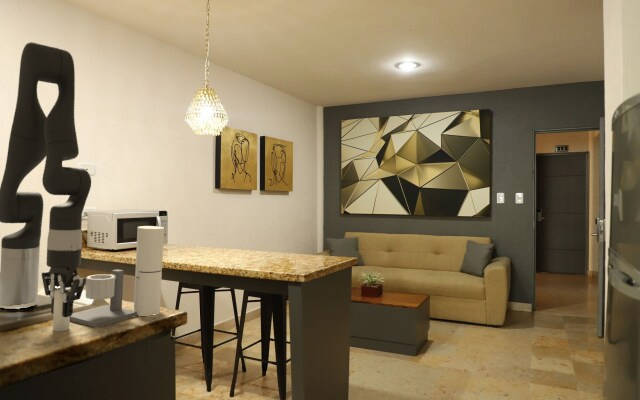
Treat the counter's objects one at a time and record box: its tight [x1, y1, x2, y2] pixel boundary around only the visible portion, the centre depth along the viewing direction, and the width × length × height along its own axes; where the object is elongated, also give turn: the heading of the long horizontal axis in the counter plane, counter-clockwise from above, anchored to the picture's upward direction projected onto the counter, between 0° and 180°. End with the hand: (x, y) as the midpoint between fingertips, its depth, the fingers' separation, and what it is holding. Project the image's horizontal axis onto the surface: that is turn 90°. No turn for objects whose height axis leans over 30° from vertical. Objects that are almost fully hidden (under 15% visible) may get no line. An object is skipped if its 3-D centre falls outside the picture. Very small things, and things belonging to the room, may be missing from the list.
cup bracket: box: [70, 268, 138, 329], centre depth 124 cm, size 12×13×12 cm
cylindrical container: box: [133, 225, 165, 317], centre depth 130 cm, size 7×7×25 cm
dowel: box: [52, 287, 71, 333], centre depth 113 cm, size 4×4×10 cm
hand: (61, 314), depth 113 cm, fingers closed on dowel, 3 cm apart
